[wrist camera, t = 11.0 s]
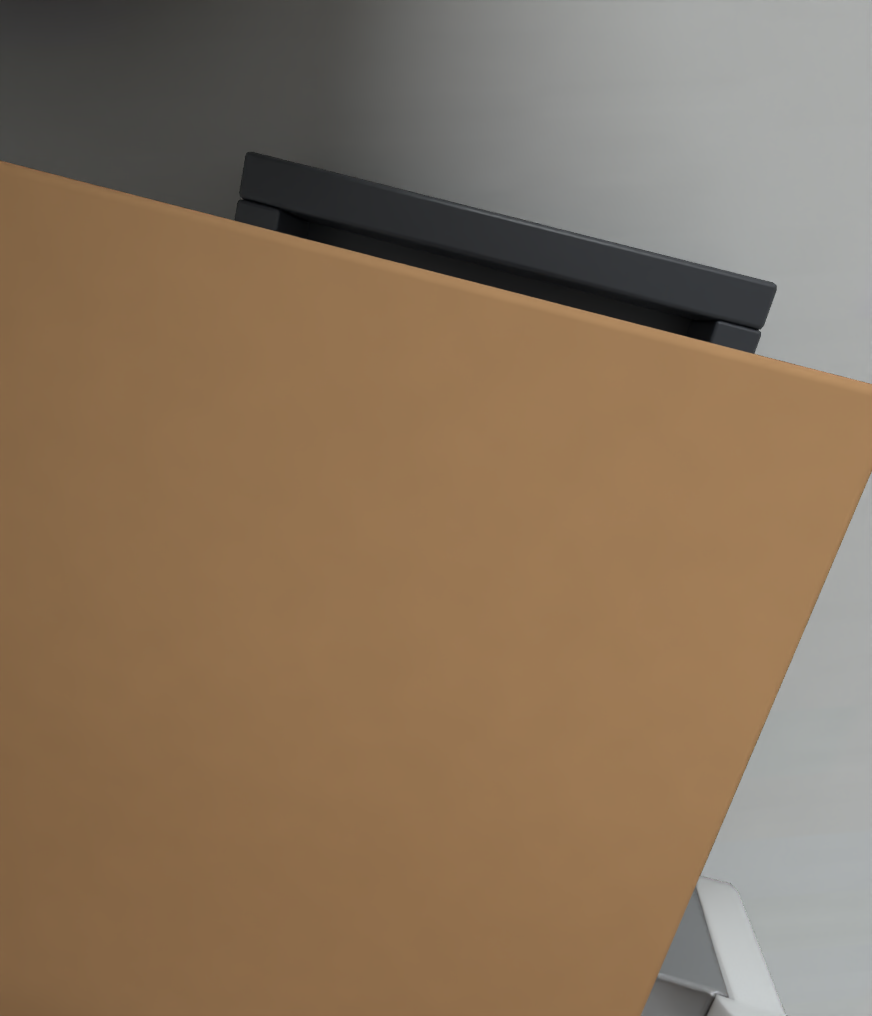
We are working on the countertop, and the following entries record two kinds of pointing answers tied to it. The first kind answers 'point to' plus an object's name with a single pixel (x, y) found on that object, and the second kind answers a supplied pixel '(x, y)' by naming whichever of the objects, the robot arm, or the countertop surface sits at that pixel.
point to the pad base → (505, 252)
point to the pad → (373, 620)
